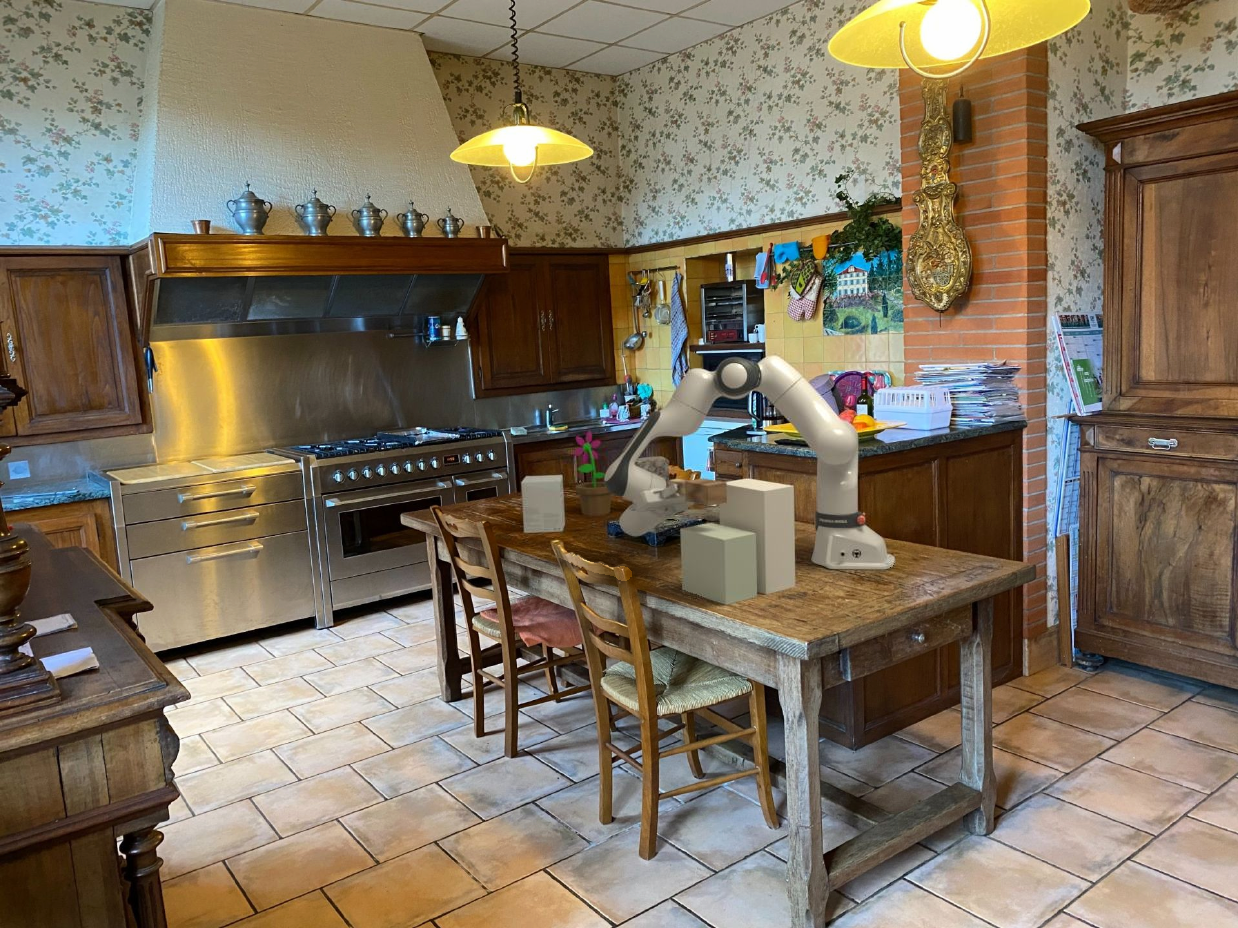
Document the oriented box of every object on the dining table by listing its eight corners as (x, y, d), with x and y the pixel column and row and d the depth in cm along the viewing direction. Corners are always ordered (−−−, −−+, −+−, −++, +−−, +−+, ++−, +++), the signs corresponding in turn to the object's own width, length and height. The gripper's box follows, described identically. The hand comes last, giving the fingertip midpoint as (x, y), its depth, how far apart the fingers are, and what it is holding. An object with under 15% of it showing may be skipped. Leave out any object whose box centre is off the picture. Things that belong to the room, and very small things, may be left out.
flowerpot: (600, 507, 346) (597, 428, 342) (623, 512, 335) (619, 431, 330) (569, 513, 338) (565, 432, 334) (591, 518, 326) (587, 435, 322)
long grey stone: (656, 519, 328) (650, 526, 319) (655, 505, 327) (648, 512, 318) (753, 515, 318) (750, 523, 309) (752, 501, 317) (748, 508, 308)
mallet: (665, 495, 238) (664, 477, 237) (683, 492, 241) (682, 474, 240) (708, 505, 224) (707, 485, 223) (726, 502, 227) (726, 482, 226)
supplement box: (565, 523, 320) (563, 474, 317) (562, 531, 307) (560, 480, 304) (528, 525, 320) (525, 475, 318) (523, 533, 307) (520, 482, 304)
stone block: (640, 515, 327) (638, 460, 324) (631, 512, 333) (629, 458, 331) (672, 511, 333) (670, 457, 331) (662, 508, 340) (660, 455, 337)
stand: (682, 589, 233) (679, 489, 229) (749, 573, 246) (747, 478, 242) (726, 604, 219) (723, 498, 215) (795, 586, 232) (793, 485, 228)
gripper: (621, 499, 242) (647, 479, 231) (682, 489, 253) (710, 469, 242) (629, 521, 240) (655, 502, 229) (690, 510, 251) (718, 491, 240)
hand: (684, 485), depth 236 cm, fingers closed on mallet, 3 cm apart
